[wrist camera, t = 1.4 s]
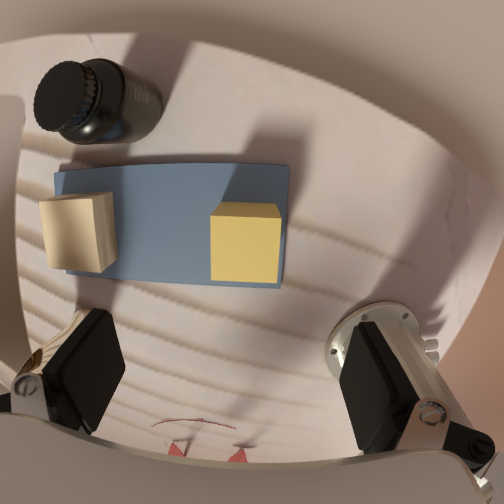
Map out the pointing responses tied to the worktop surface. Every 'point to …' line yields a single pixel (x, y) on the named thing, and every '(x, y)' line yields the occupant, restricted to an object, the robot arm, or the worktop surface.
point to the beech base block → (79, 231)
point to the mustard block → (245, 242)
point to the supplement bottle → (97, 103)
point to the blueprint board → (175, 214)
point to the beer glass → (51, 346)
